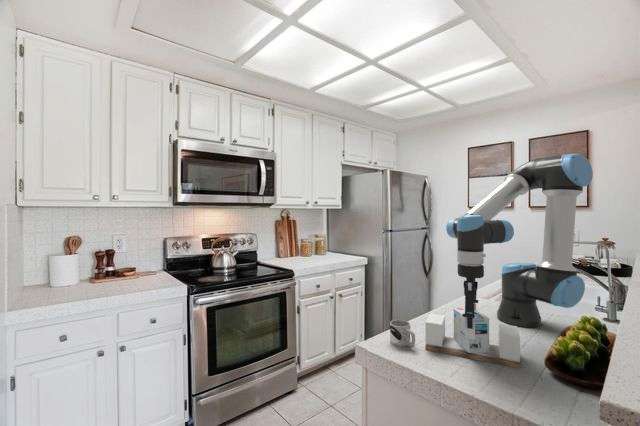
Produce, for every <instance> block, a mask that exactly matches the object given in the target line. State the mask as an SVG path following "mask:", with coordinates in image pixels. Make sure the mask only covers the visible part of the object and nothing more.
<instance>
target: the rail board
mask: <svg viewBox="0 0 640 426" xmlns="http://www.w3.org/2000/svg"><path fill="white" fill-rule="evenodd" d="M426 350H427V351H431V352H435V353H442V354H447V355H450V356H456V357H462V358H466V359H470V360H471V359H472V360H476V361H482V362H487V363H492V364H496V365H500V366H501V365H502V366H505V367H511V368H516V369H521V360H520V361H515V360H510V359H505V358H500V354H499V345H495V344H490V343H489V353H468V352H467V351H466V350H465V349H464V348H463V347H462V346H461V345H460V344H459V343H458V342H457V341H456V340H455V339H454V337H449V336H445V338H444V341H443V345H442V346H437V345H432V344H426V343H425V351H426Z"/></svg>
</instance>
